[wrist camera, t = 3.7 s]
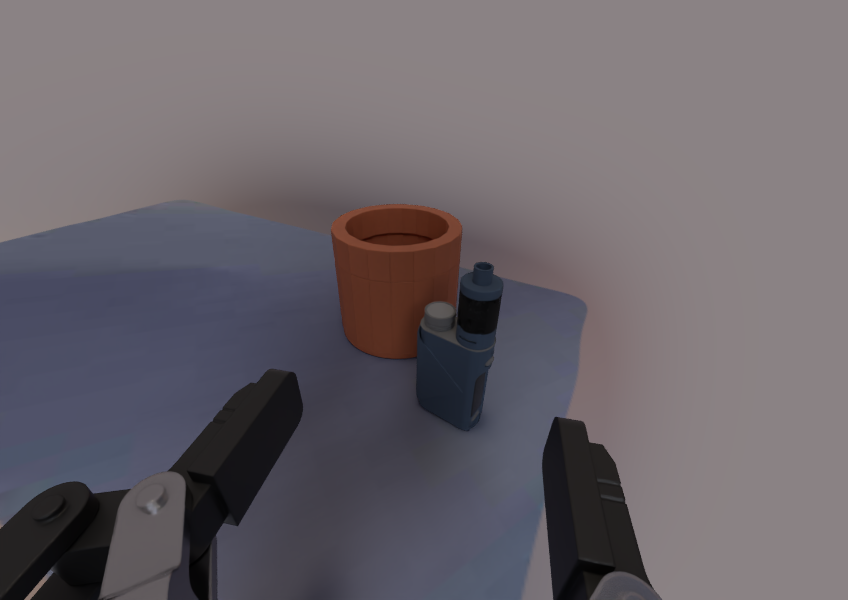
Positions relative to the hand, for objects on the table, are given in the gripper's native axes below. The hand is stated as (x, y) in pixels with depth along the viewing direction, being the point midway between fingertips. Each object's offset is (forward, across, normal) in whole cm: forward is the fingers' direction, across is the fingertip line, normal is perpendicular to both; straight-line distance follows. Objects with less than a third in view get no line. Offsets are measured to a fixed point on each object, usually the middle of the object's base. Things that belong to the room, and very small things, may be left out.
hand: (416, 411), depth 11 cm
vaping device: (+11, 0, +12) cm, 16 cm away
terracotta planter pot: (+20, +6, +12) cm, 24 cm away
